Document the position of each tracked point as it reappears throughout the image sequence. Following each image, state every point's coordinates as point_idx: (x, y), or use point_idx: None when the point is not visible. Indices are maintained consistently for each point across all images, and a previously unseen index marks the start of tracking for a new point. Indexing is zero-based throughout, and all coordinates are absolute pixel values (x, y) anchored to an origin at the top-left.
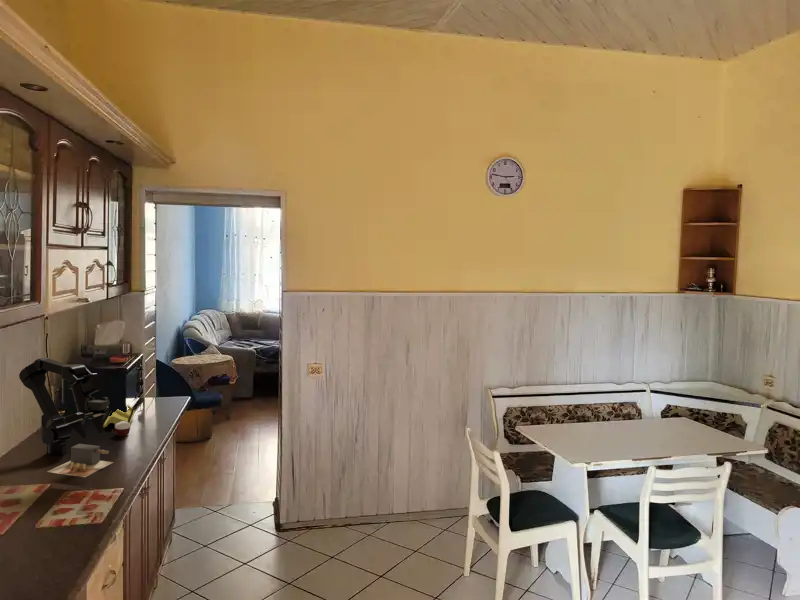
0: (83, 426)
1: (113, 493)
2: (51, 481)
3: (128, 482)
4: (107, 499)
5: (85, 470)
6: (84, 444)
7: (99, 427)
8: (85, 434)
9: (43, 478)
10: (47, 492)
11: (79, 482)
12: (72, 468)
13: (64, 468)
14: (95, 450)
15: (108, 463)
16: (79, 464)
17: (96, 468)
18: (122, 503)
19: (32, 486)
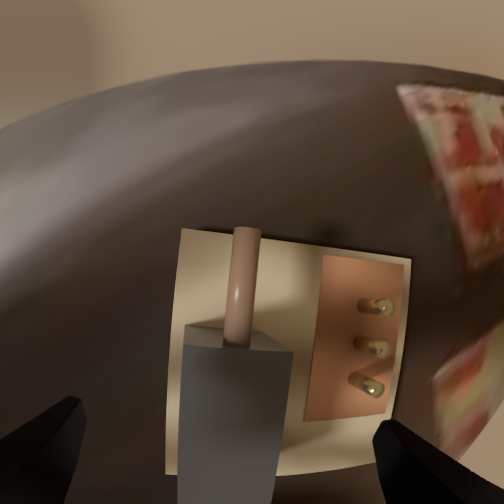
0: (488, 499)
1: (439, 107)
2: (418, 390)
3: (356, 82)
4: (467, 114)
5: (366, 298)
6: (181, 480)
7: (52, 473)
8: (416, 439)
9: None
10: (484, 322)
11: (412, 275)
12: (365, 375)
13: (334, 430)
14: (250, 341)
15: (207, 249)
16: (379, 341)
17: (302, 272)
18: (462, 74)
19: (454, 408)
